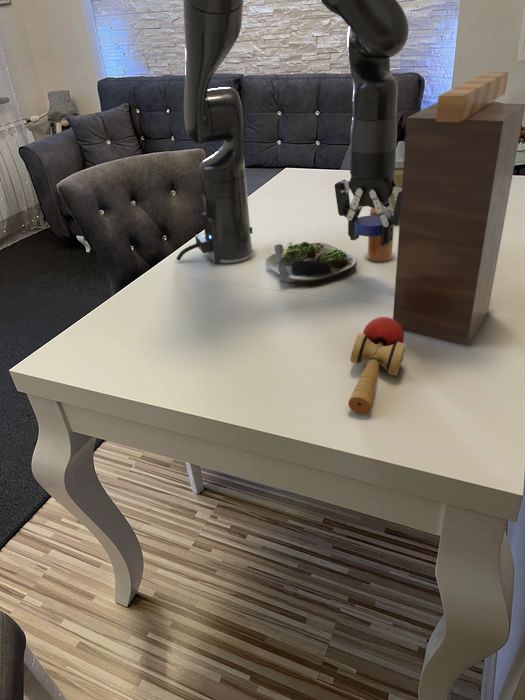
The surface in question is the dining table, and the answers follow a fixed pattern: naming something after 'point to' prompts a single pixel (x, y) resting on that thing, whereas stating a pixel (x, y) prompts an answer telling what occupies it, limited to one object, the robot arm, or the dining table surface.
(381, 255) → the jar
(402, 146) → the squeeze bottle
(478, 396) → the dining table surface
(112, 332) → the dining table surface
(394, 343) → the kendama
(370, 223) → the jar lid
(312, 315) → the dining table surface
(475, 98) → the rod
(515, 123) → the stand
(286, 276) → the salad plate
